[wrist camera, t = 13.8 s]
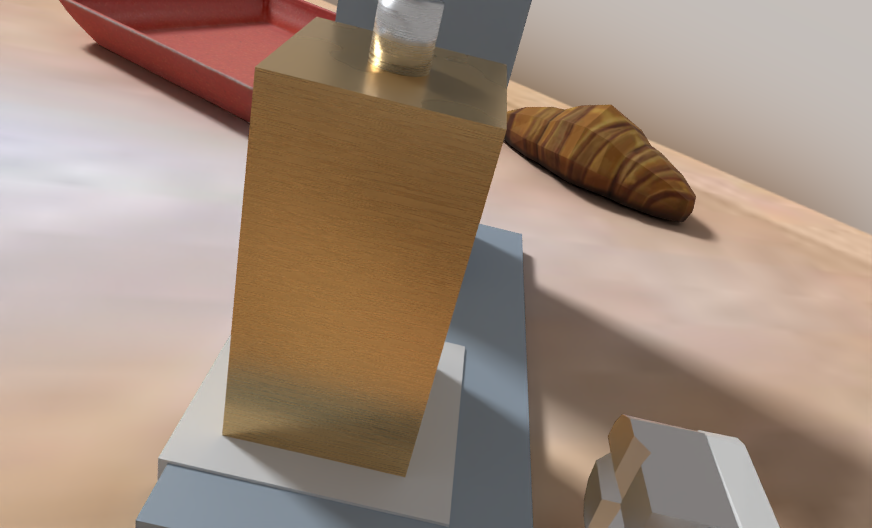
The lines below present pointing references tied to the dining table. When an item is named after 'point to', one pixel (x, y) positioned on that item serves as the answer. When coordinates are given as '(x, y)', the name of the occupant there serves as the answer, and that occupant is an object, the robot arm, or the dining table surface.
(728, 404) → the dining table surface
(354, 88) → the block
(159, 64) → the plant saucer
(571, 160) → the croissant
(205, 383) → the press
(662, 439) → the robot arm
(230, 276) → the dining table surface
